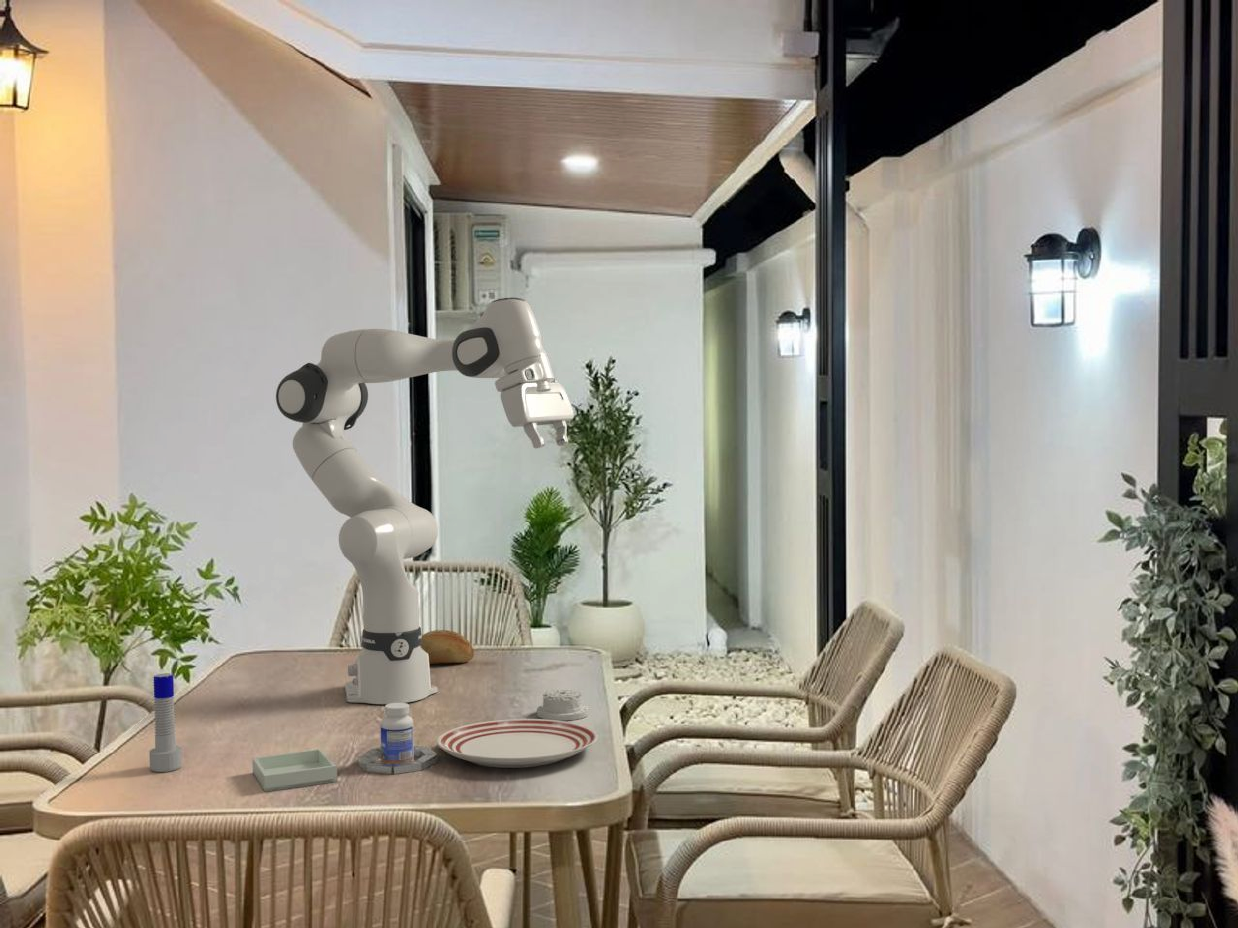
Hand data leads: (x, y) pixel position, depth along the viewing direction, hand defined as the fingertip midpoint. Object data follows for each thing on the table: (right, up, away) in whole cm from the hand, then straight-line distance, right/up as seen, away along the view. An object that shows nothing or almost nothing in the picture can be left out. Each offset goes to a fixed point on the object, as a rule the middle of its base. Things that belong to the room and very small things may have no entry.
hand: (551, 446), depth 231 cm
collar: (-24, -53, -29) cm, 65 cm away
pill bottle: (-24, -54, -29) cm, 65 cm away
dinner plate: (-4, -53, -23) cm, 58 cm away
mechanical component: (+2, -52, +2) cm, 52 cm away
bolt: (-62, -54, -30) cm, 88 cm away
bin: (-39, -54, -36) cm, 76 cm away
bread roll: (-28, -50, +51) cm, 77 cm away
